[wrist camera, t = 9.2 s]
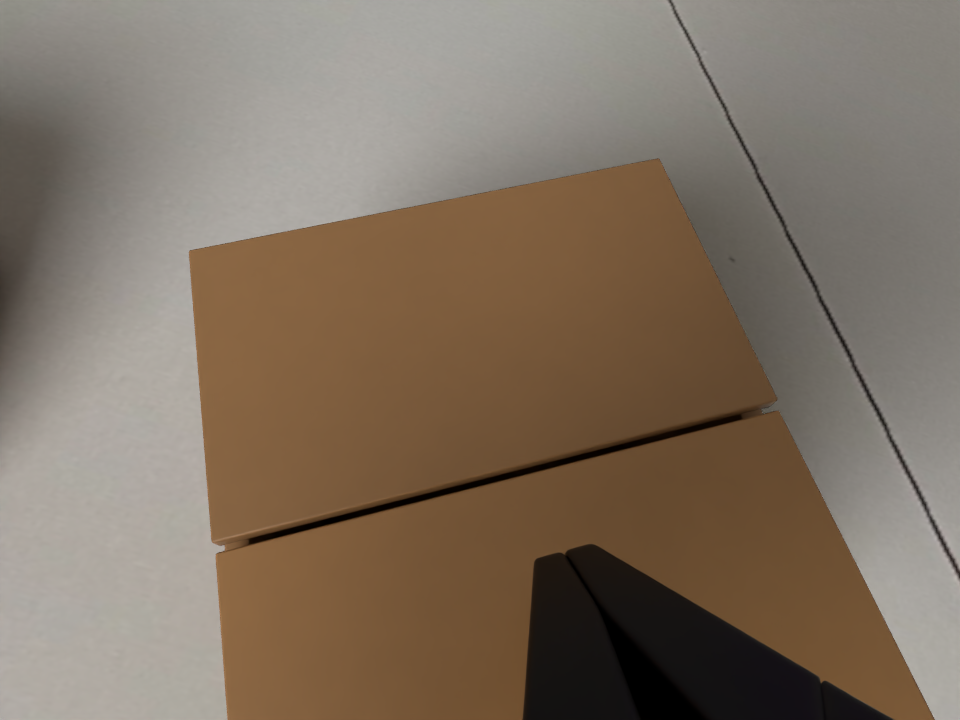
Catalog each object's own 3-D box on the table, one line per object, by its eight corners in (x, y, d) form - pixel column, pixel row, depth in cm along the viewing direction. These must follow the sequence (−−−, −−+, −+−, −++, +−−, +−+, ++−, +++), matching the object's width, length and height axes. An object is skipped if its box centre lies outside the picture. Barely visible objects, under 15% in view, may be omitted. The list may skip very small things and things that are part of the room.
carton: (738, 725, 18) (974, 786, 10) (358, 846, 17) (245, 1040, 8) (591, 334, 23) (660, 154, 15) (293, 403, 22) (185, 247, 14)
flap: (950, 778, 10) (967, 783, 10) (258, 1016, 9) (248, 1031, 8) (770, 416, 13) (779, 409, 12) (222, 557, 11) (214, 552, 11)
